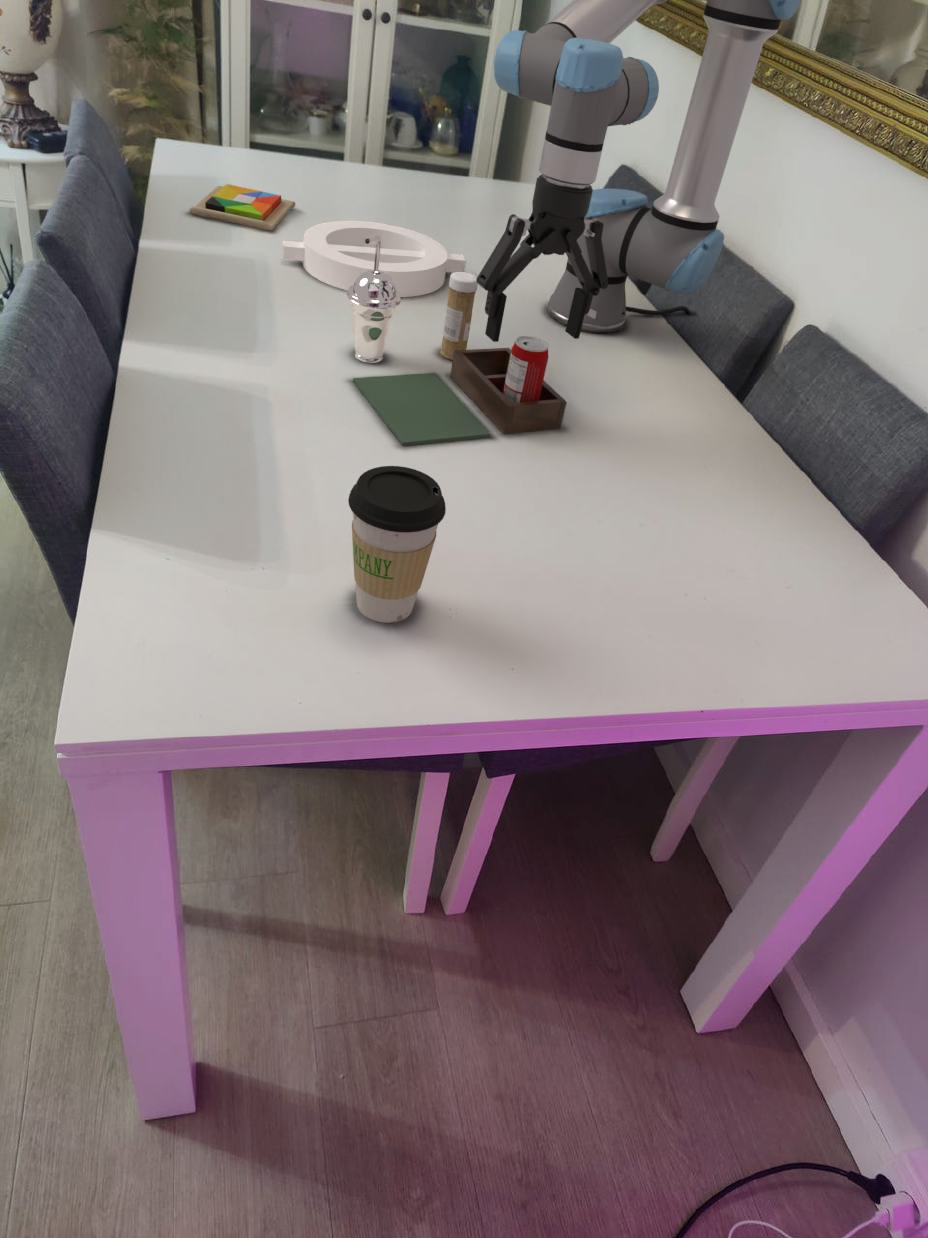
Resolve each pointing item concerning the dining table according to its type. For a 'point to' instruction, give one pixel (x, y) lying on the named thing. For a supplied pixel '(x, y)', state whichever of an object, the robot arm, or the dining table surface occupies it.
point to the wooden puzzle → (243, 206)
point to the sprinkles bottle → (458, 313)
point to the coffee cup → (392, 538)
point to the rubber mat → (420, 409)
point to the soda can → (526, 369)
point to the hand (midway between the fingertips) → (532, 336)
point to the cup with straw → (372, 309)
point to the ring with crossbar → (373, 255)
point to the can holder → (485, 385)
